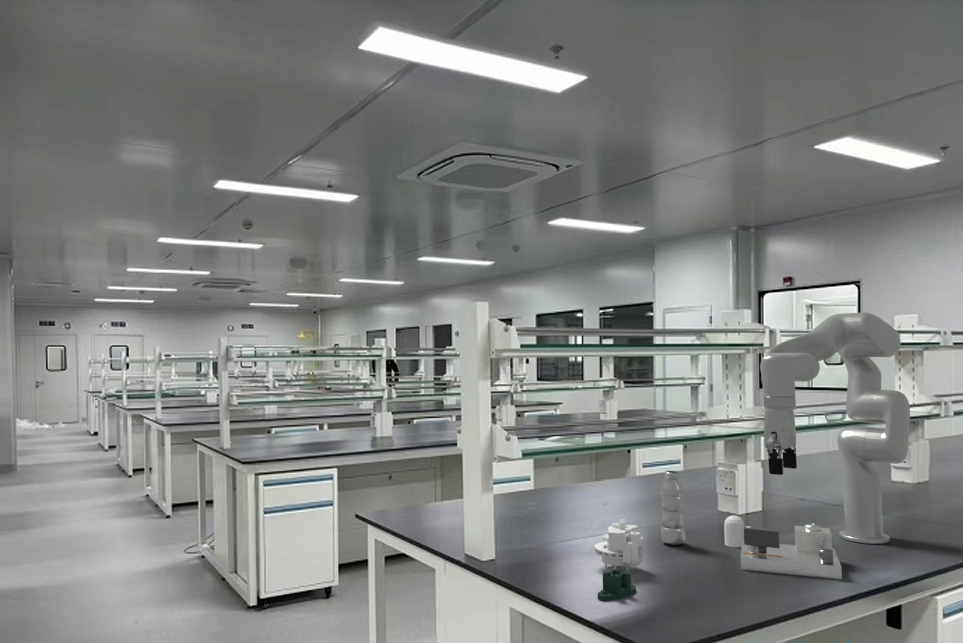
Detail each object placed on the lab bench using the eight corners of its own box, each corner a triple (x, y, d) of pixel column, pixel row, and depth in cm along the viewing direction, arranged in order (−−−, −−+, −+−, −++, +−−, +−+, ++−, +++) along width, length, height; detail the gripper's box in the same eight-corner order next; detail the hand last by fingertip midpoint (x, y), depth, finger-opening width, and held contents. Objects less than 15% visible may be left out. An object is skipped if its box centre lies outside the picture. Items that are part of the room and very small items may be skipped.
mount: (607, 603, 144) (606, 580, 144) (592, 598, 148) (591, 574, 148) (641, 593, 150) (641, 570, 151) (626, 587, 154) (625, 565, 154)
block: (780, 553, 167) (779, 528, 167) (779, 556, 165) (778, 531, 165) (745, 549, 171) (745, 525, 171) (744, 551, 168) (743, 527, 169)
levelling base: (742, 552, 180) (740, 515, 181) (834, 560, 172) (833, 521, 173) (740, 569, 166) (739, 529, 166) (841, 579, 157) (840, 537, 158)
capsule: (735, 541, 191) (734, 512, 191) (749, 546, 186) (748, 516, 187) (720, 543, 189) (719, 514, 190) (734, 548, 184) (733, 518, 185)
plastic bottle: (666, 539, 194) (665, 469, 195) (689, 543, 189) (687, 471, 190) (657, 544, 189) (655, 472, 190) (680, 548, 184) (678, 474, 185)
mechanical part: (608, 559, 175) (607, 513, 176) (651, 568, 167) (650, 520, 168) (585, 570, 166) (585, 521, 167) (630, 580, 159) (629, 529, 159)
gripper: (776, 400, 180) (780, 464, 180) (751, 405, 168) (755, 475, 167) (806, 400, 175) (810, 467, 174) (782, 406, 162) (786, 478, 162)
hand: (783, 471), depth 171 cm, fingers open, 9 cm apart
